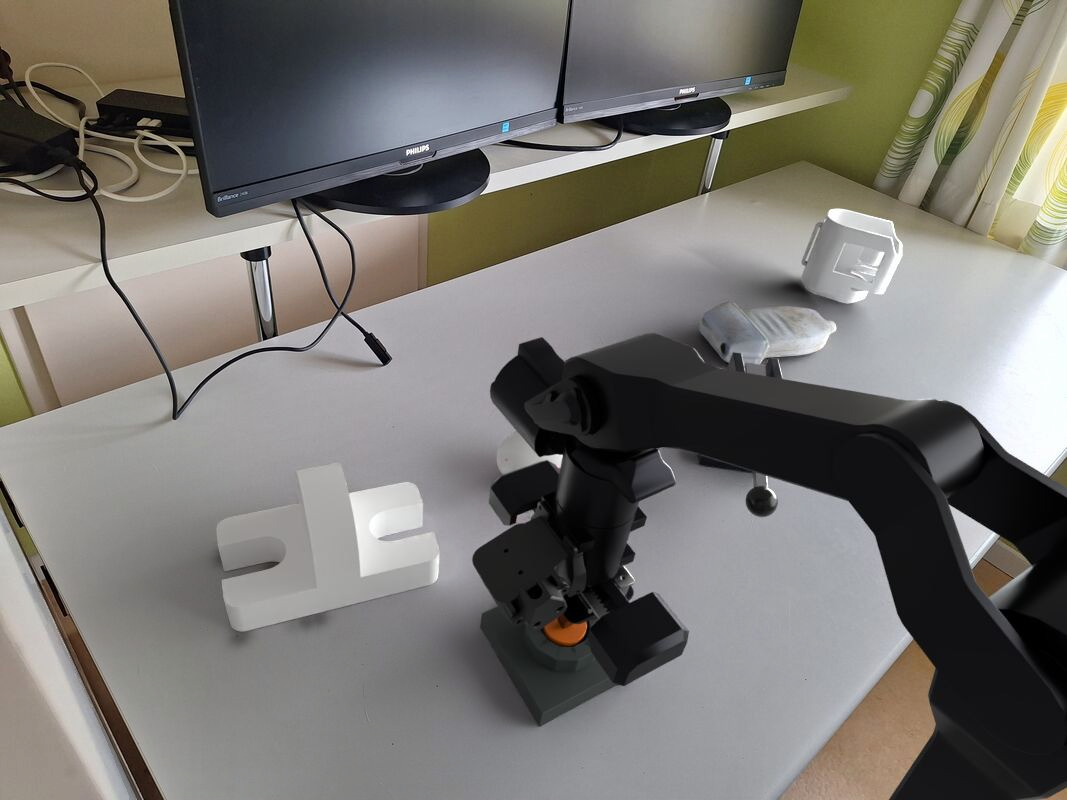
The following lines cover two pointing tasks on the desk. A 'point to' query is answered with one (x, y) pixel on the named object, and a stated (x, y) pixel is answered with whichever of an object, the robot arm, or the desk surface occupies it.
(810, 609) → the desk surface
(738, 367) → the bracket
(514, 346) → the desk surface
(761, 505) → the lever
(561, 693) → the button box
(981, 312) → the desk surface
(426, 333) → the desk surface
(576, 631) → the button
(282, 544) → the white slotted mount
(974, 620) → the robot arm
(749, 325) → the handheld device
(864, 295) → the white plastic holder
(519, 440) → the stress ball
